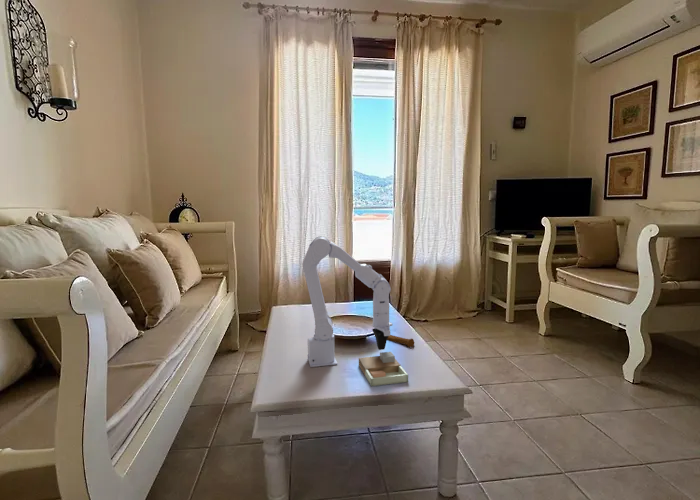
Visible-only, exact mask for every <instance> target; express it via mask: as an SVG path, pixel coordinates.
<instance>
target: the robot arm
mask: <svg viewBox="0 0 700 500" xmlns="http://www.w3.org/2000/svg"><path fill="white" fill-rule="evenodd" d="M327 256H328V258H330V259H338V260H339V261H340V262H342V263H343V264H345V265H346V266H348V268H349V269H351V270H352V271H354V276H355V278H357V279H358V280H359V281H361V283H363V284H364V285H365V286H367V287H368V288H369V289H370V288H371V289H372V291H373V293H372V294H373V295H372V296H373V298H372V329H371V330H372V332H373V336H374V335H375V336H374V337H375V341H376V346H377V349H378V350H379V351H380V350H381V351H382V350H385V348H386V344H387V341H388V340H387V338H388V336H390V335H391V329H390V328H391V327H392V326H393V323H392V322H390V293H391V291H392V287H391V285H390V282H388V281H387V279H386V278H385V277H384V276H383V275H382V274H381V273H378V272H376V270H375V269H373V266H372V265H370V264H366V263H359V262H358V261H357V260H356V259H355V258H353V257H352V256H351V255H350V253H348V252H347V251H346V250H344V249H343V248H342V247H341V246H340V245H338V244H336V243H335V242H333V241H332V240H329V239H328V238H327V237H326V236H322V235H319V236H316V237H315V238H314V239H313V240H312V241H311V243H310V244H309V245H308V248H307V251H306V253H305V255H304V258H303V260H302V262H301V263H302V270H303V273H304V278H305V283H306V286H307V291H308V295H309V298H310V299H309V300H310V303H311V307H312V311H313V312H312V313H313V319H314V326H315V327H314V334H313V337H309V338H307V360H308V363H309V367H310V368H316V367H327V366H335V365H338V361H337V359H336V357H335V334H334V329H333V319H332V318H331V317H330V316H329V313H328V311H327V309H328V308H327V305H326V303H325V298H324V293H323V289H322V284H321V281H320V275H319V272H318V265H319V264H320V262H321V261H322V260H323V259H325V258H326V257H327Z"/></svg>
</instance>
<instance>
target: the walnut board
mask: <svg viewBox="0 0 700 500" xmlns="http://www.w3.org/2000/svg"><path fill="white" fill-rule="evenodd" d="M399 366H401V367H402V365H401V364H400V362H399V361H398V359H396V358H395V362H388V363H383V362H382V360H381V359H380V355H375V356H374V355H373V356H366V357H364V356H363V357H358V367H359V368H360V370H361V371H362V373H363V375H364V376H365V369H368V371H369V372H373V371H383V372H385V373H391V372H399Z"/></svg>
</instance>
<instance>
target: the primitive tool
mask: <svg viewBox="0 0 700 500" xmlns="http://www.w3.org/2000/svg"><path fill="white" fill-rule="evenodd" d="M387 341H390V342H393V343H397V344H401V345H404V346H407V347H408V348H413V347H414V345H415V341H414V338H405V337H400V336H396V335H393V334H390V336H388V338H387Z"/></svg>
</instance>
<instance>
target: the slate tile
mask: <svg viewBox="0 0 700 500" xmlns="http://www.w3.org/2000/svg"><path fill="white" fill-rule="evenodd" d="M379 356H380V359H381V360H382V362H383V363H388V362H395V359H396V356H395V355H394V354H393V352H392V351H384V352H379Z"/></svg>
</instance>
